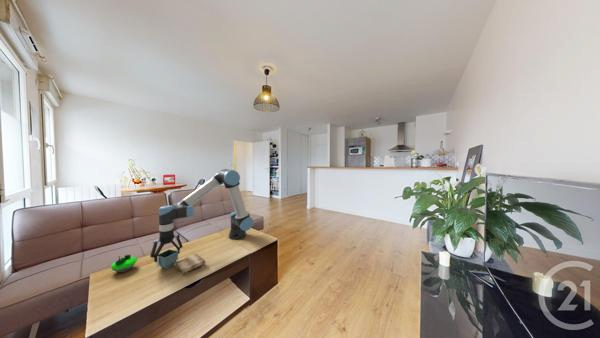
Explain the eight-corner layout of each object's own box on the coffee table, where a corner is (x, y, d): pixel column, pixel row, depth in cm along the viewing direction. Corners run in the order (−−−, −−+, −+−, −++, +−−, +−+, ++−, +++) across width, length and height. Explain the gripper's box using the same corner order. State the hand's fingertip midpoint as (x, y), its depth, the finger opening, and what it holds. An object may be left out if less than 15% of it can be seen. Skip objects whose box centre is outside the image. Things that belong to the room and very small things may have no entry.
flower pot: (156, 268, 117) (155, 255, 116) (170, 261, 125) (169, 248, 124) (165, 271, 114) (164, 258, 113) (178, 264, 122) (178, 251, 121)
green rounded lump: (128, 275, 110) (127, 258, 109) (105, 276, 108) (105, 259, 108) (141, 263, 122) (141, 248, 121) (122, 264, 120) (121, 249, 119)
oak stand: (196, 259, 128) (196, 253, 128) (205, 266, 120) (205, 260, 120) (175, 268, 118) (175, 262, 117) (183, 276, 110) (183, 269, 110)
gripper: (183, 223, 129) (184, 253, 130) (142, 233, 111) (144, 268, 112) (187, 225, 125) (188, 257, 126) (146, 237, 107) (147, 273, 108)
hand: (167, 262), depth 119 cm, fingers closed on flower pot, 10 cm apart
